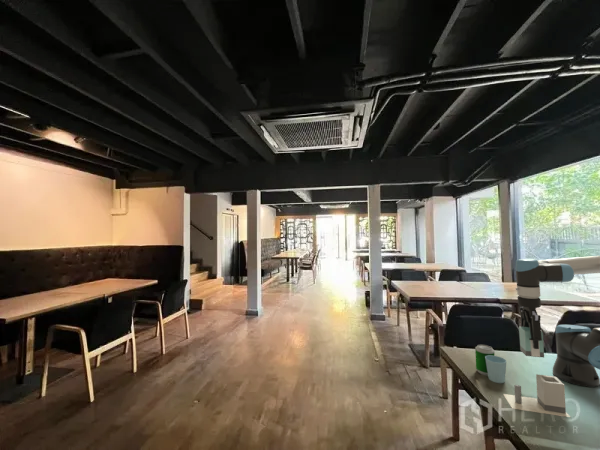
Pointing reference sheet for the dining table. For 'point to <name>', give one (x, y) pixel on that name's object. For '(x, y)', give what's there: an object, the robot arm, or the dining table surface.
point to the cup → (496, 368)
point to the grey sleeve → (551, 393)
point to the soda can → (482, 358)
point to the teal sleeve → (528, 342)
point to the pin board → (527, 403)
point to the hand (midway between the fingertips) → (531, 352)
